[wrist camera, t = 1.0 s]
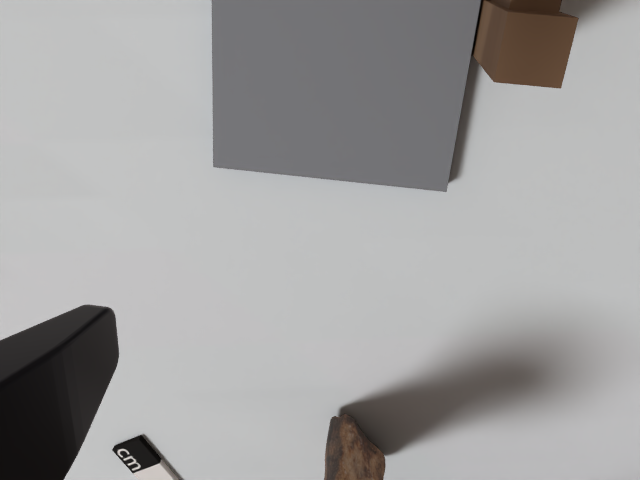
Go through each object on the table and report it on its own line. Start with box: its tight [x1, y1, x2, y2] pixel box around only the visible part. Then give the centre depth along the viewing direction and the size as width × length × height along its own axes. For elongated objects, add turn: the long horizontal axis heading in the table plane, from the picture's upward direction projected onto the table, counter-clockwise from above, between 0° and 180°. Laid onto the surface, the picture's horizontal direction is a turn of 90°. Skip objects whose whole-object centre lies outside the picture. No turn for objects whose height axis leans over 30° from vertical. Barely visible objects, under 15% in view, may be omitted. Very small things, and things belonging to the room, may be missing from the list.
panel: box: [212, 0, 481, 192], centre depth 19 cm, size 8×8×1 cm
